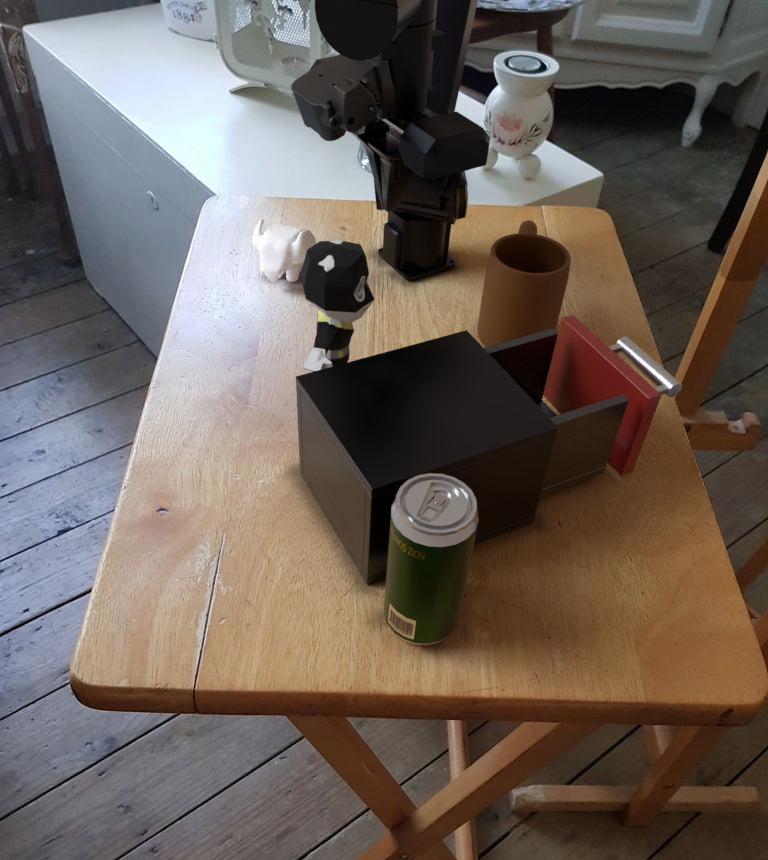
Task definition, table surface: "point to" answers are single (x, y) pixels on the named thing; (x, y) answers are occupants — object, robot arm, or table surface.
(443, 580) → the beer can
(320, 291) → the toy
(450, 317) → the table surface
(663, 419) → the table surface
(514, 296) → the mug
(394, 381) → the cabinet
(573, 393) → the drawer
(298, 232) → the elephant figurine
